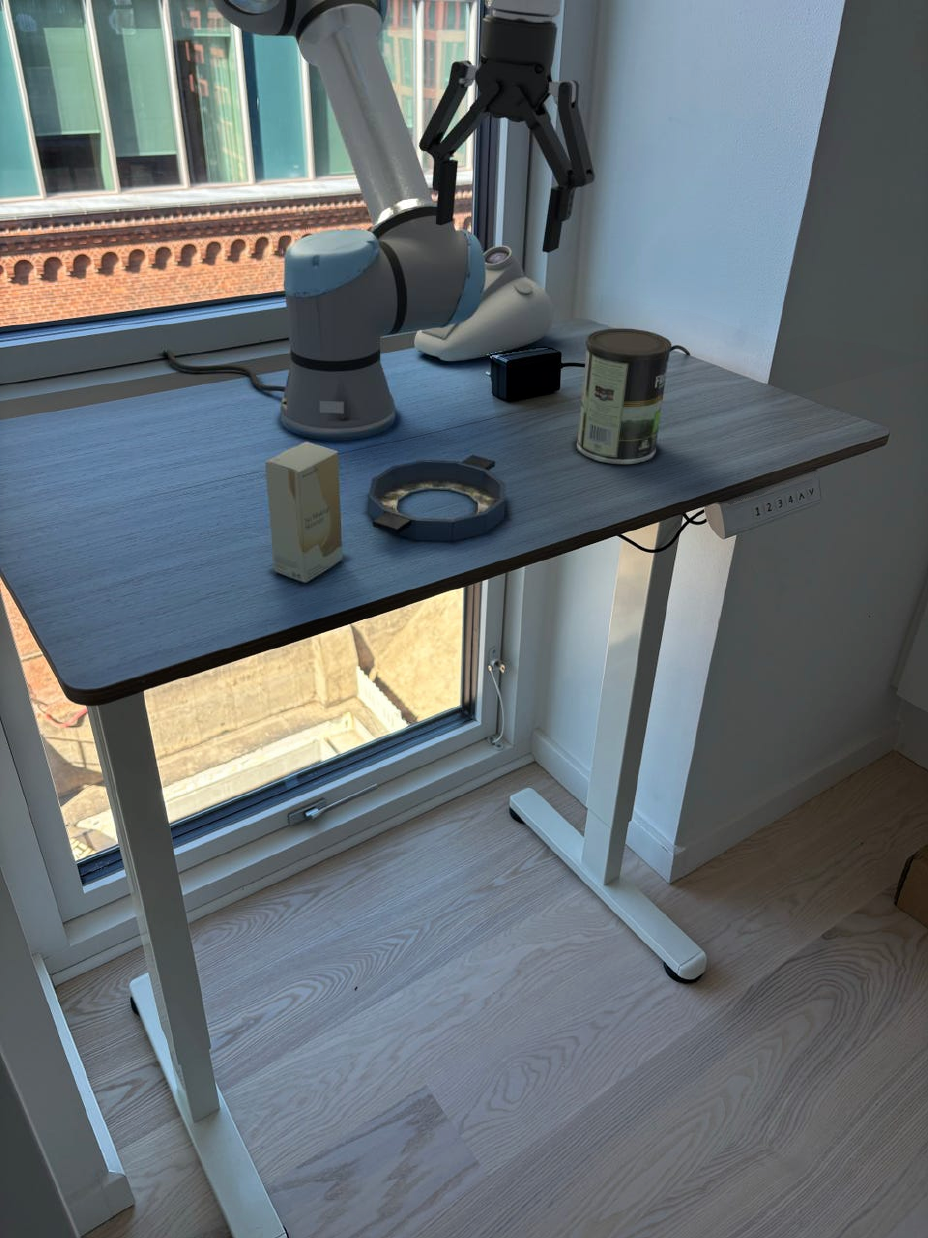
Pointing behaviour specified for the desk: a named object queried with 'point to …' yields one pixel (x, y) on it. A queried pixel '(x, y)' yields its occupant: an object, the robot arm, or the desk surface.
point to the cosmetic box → (304, 510)
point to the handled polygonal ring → (441, 476)
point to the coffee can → (622, 395)
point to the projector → (494, 315)
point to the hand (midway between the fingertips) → (496, 236)
